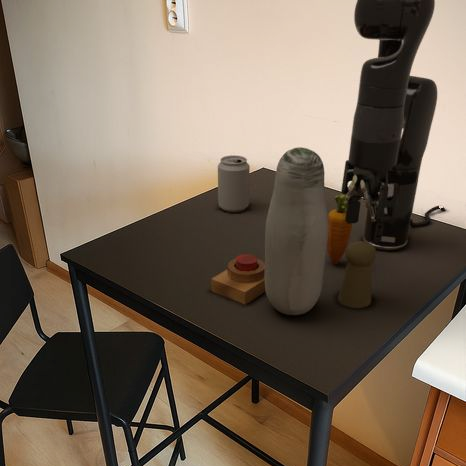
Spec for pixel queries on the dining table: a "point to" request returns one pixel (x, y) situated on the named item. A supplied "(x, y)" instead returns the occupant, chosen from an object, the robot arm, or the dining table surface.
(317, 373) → the dining table surface
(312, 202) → the grey tall rounded cylinder
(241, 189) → the can
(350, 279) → the cork
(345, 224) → the carrot
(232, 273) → the button box
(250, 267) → the red button
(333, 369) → the dining table surface
